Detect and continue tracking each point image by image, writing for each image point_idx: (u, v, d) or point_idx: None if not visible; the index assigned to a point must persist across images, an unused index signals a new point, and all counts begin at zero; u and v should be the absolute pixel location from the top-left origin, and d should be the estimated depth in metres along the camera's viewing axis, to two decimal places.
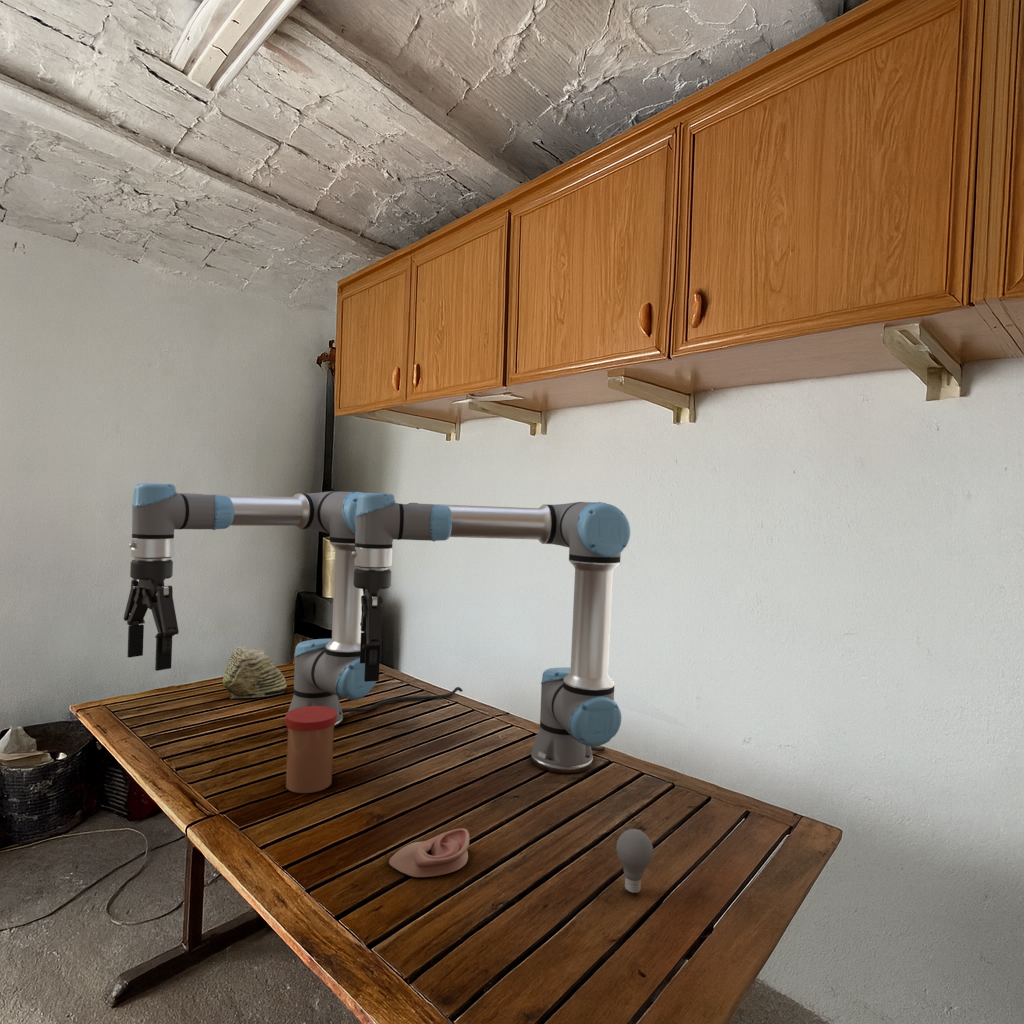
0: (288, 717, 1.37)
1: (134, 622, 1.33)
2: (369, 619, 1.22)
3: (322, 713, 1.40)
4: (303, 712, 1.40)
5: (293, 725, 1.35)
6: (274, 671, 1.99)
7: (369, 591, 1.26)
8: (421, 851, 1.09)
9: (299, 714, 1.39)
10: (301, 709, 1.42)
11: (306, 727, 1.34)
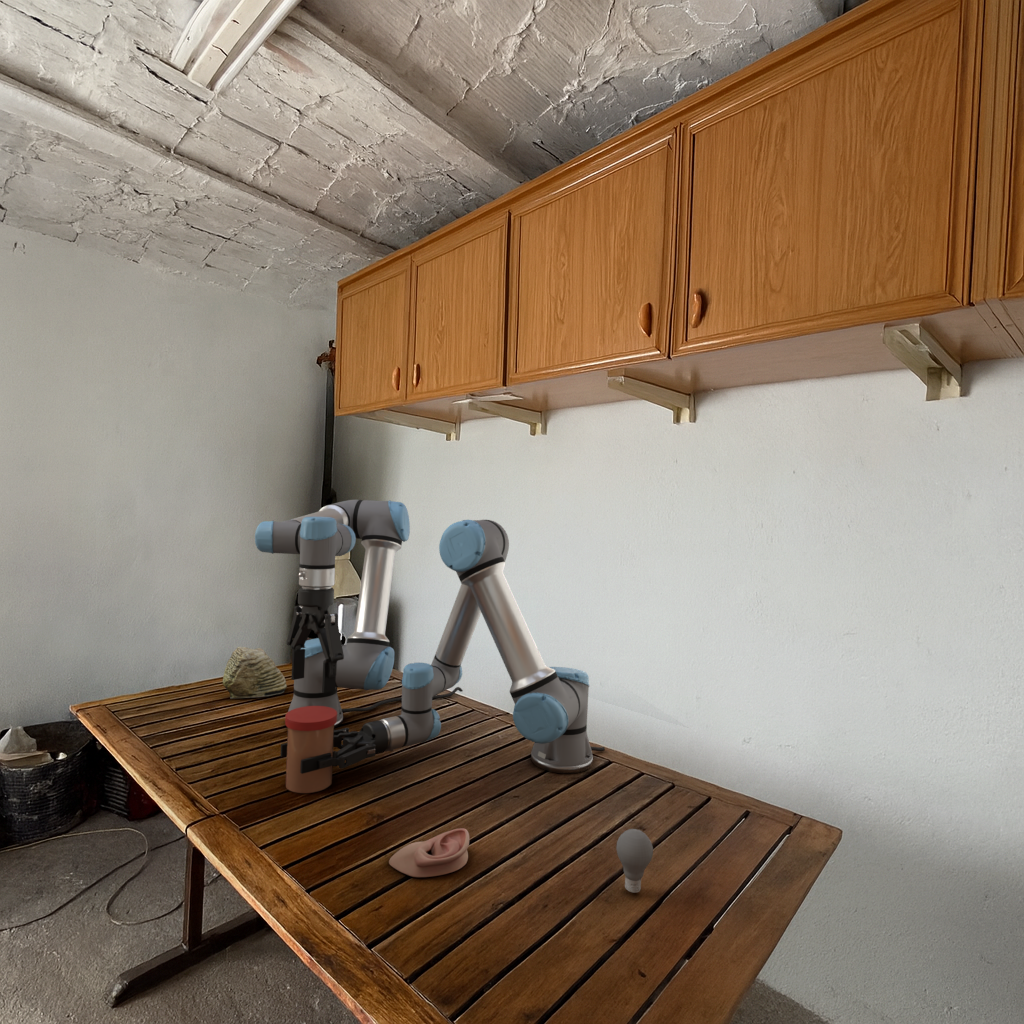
0: (288, 717, 1.37)
1: (297, 646, 1.44)
2: None
3: (322, 713, 1.40)
4: (303, 712, 1.40)
5: (293, 725, 1.35)
6: (274, 671, 1.99)
7: None
8: (421, 851, 1.09)
9: (299, 714, 1.39)
10: (301, 709, 1.42)
11: (306, 727, 1.34)
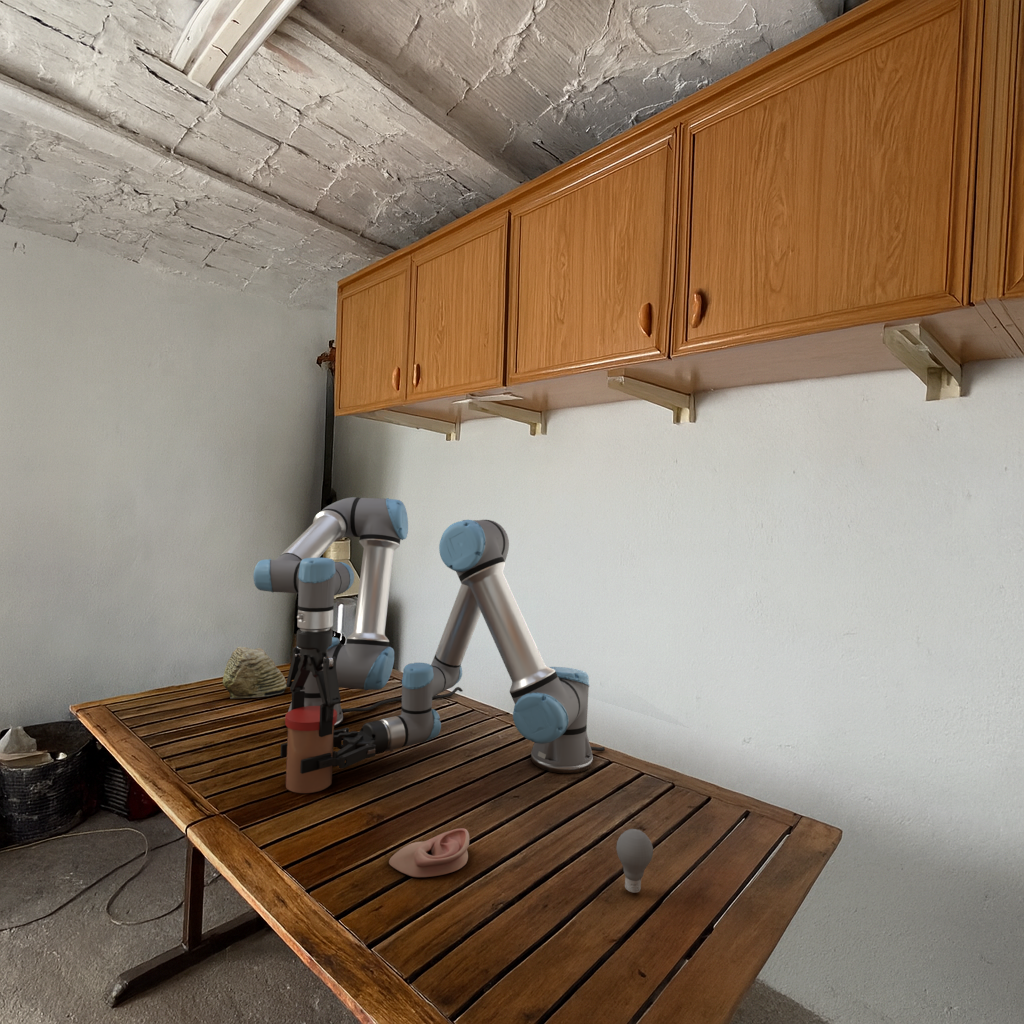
0: (288, 717, 1.37)
1: (296, 689, 1.43)
2: None
3: None
4: (303, 712, 1.40)
5: (293, 725, 1.35)
6: (274, 671, 1.99)
7: None
8: (421, 851, 1.09)
9: (299, 714, 1.39)
10: (301, 709, 1.42)
11: (306, 727, 1.34)
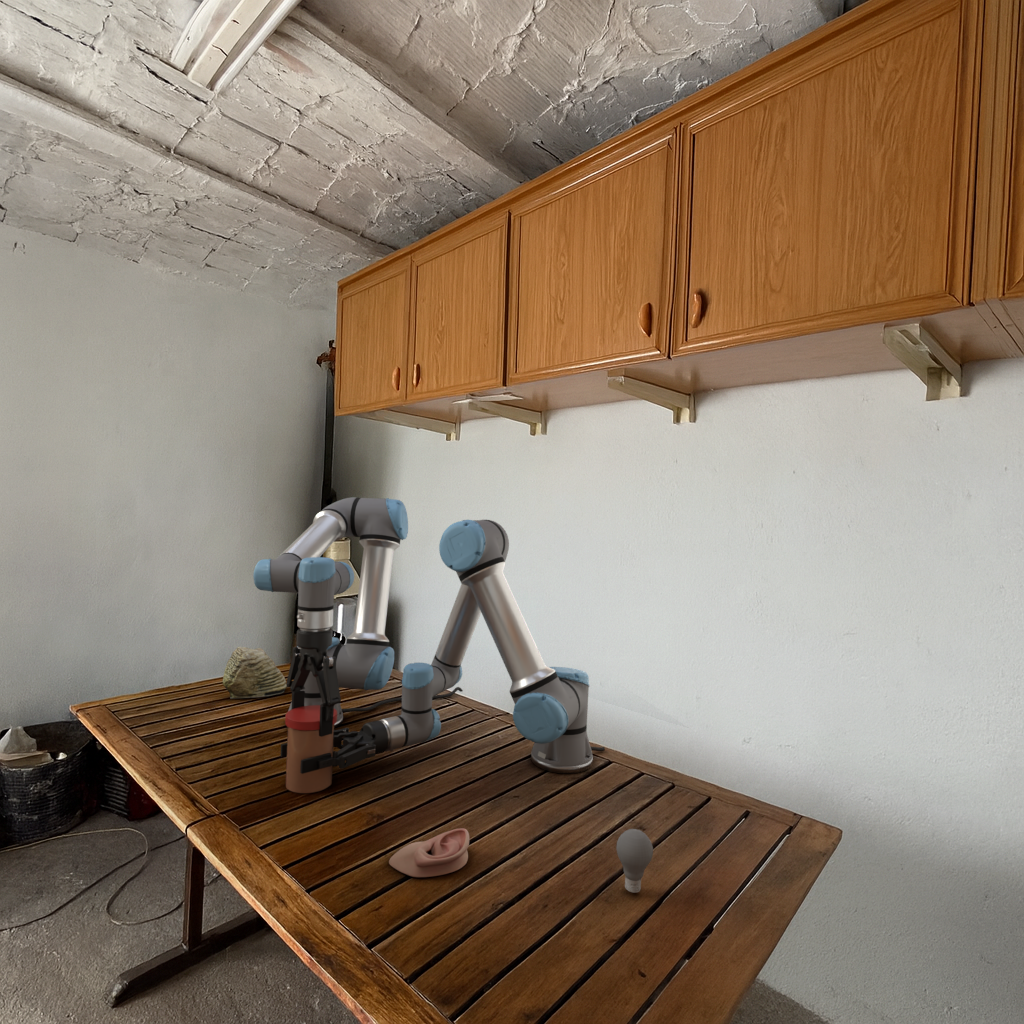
0: (314, 720, 1.35)
1: (296, 688, 1.43)
2: None
3: (314, 709, 1.42)
4: (304, 715, 1.38)
5: None
6: (274, 671, 1.99)
7: None
8: (421, 851, 1.09)
9: (309, 717, 1.37)
10: (292, 716, 1.37)
11: (335, 719, 1.39)
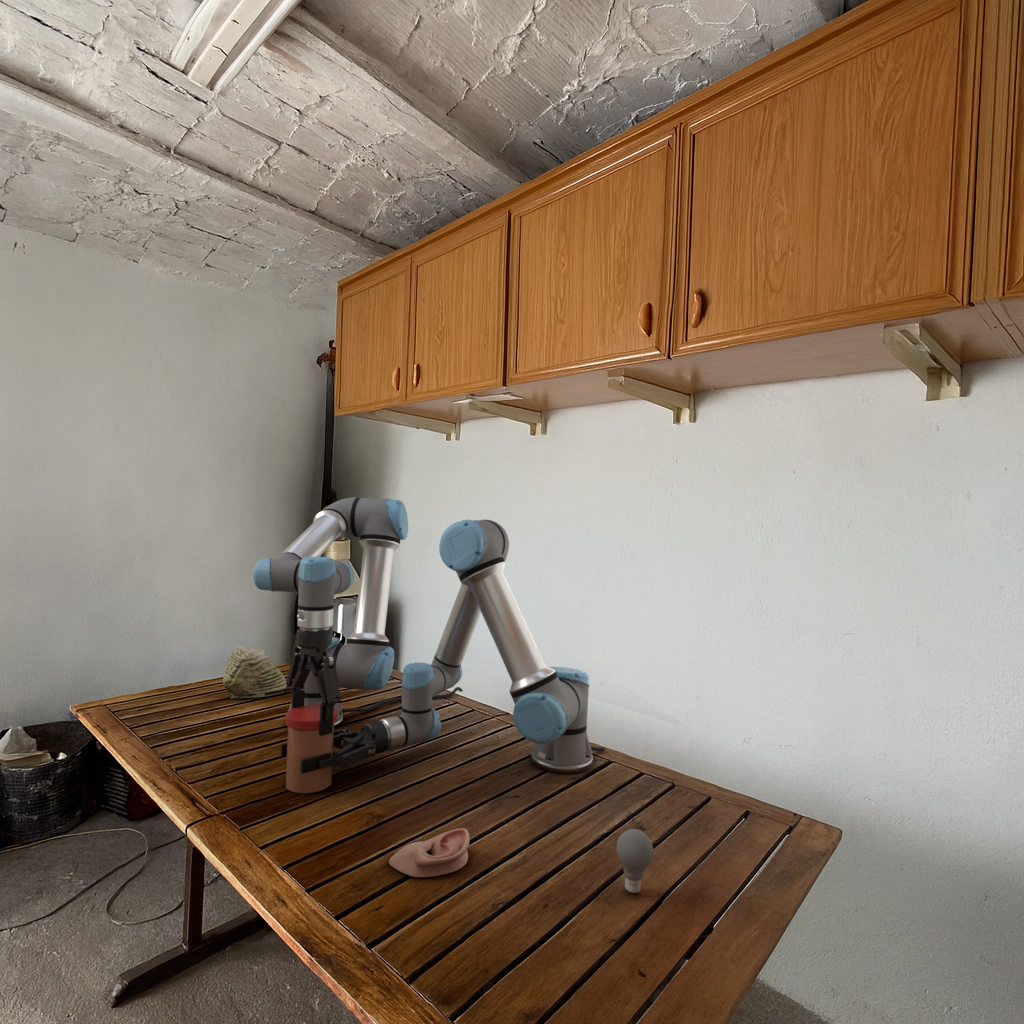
0: (335, 711, 1.41)
1: (296, 688, 1.43)
2: None
3: (301, 711, 1.40)
4: (316, 715, 1.38)
5: None
6: (274, 671, 1.99)
7: None
8: (421, 851, 1.09)
9: None
10: (314, 719, 1.36)
11: None
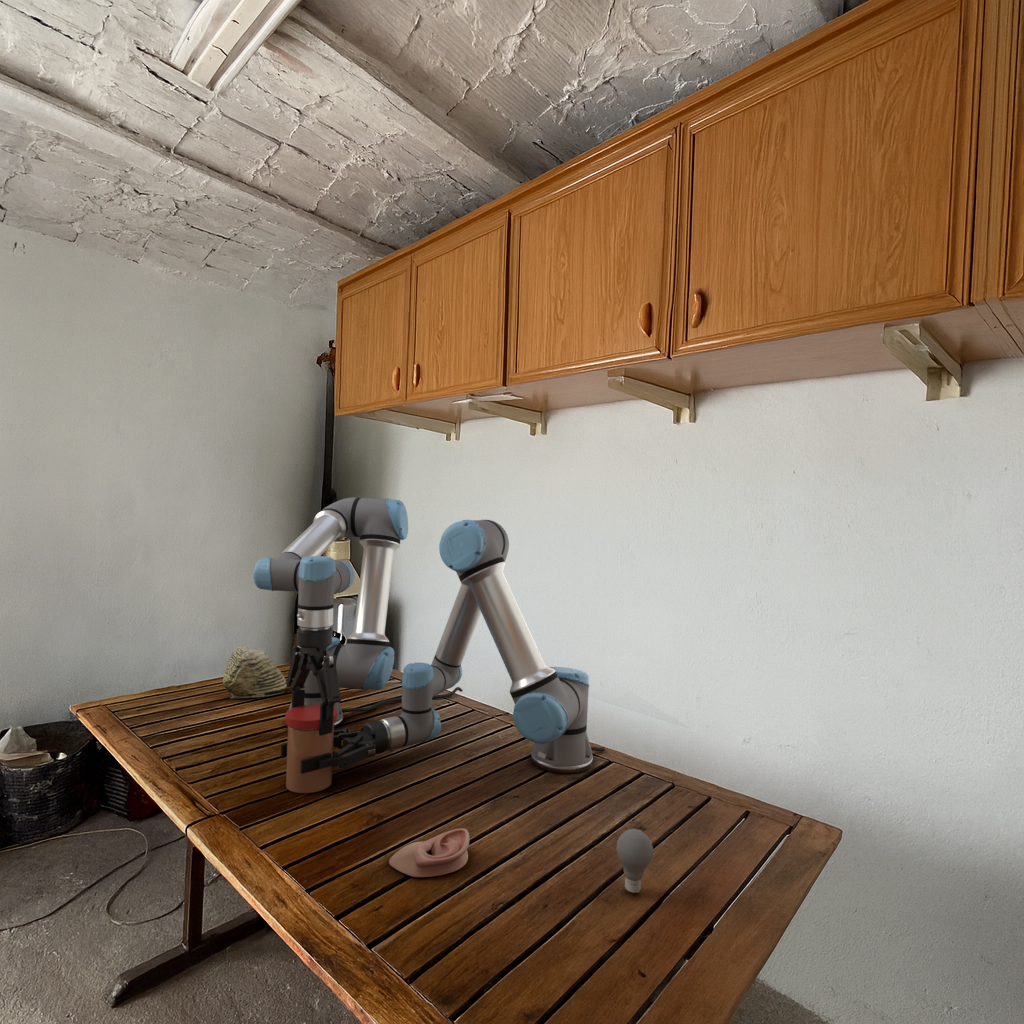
0: (317, 704, 1.45)
1: (296, 687, 1.43)
2: None
3: (305, 715, 1.37)
4: None
5: None
6: (274, 671, 1.99)
7: None
8: (421, 851, 1.09)
9: (318, 708, 1.42)
10: None
11: None
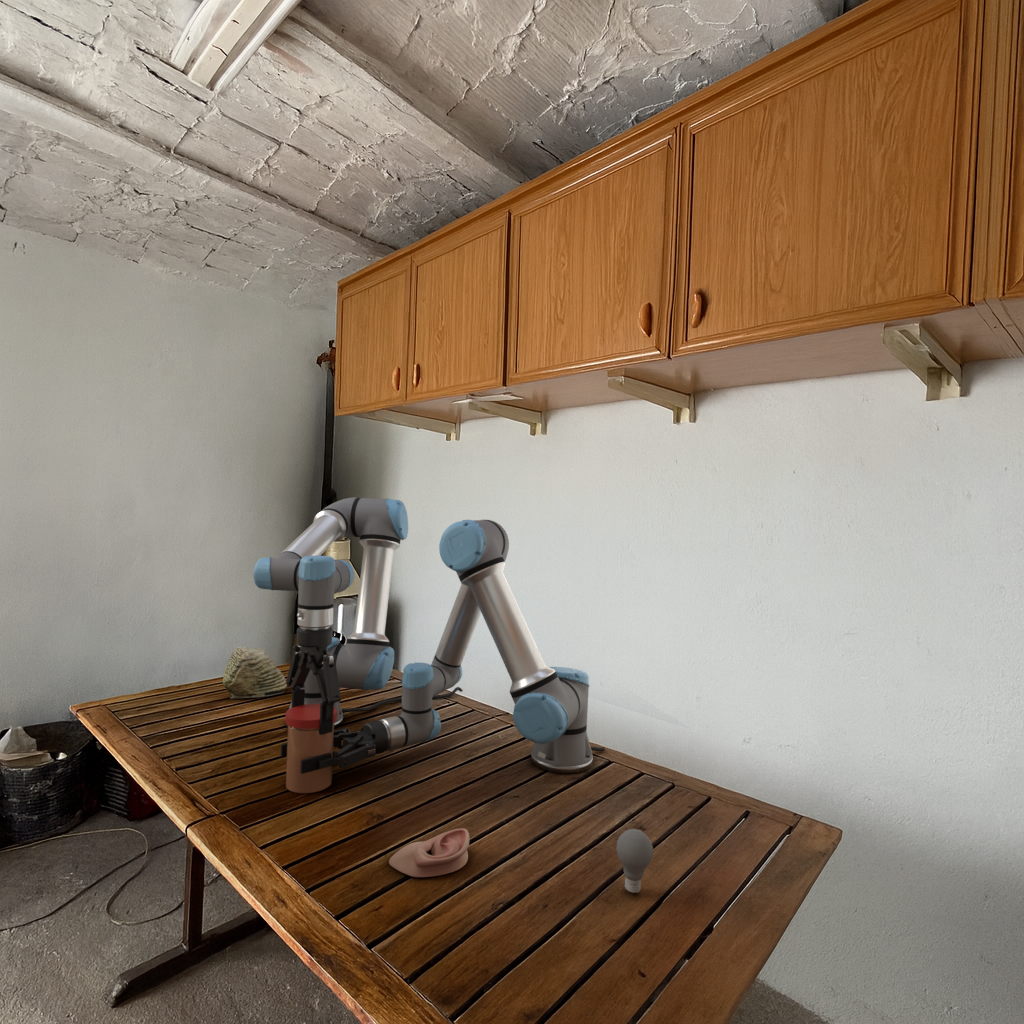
0: (290, 709, 1.40)
1: (296, 687, 1.43)
2: None
3: (319, 713, 1.38)
4: (310, 708, 1.41)
5: None
6: (274, 671, 1.99)
7: None
8: (421, 851, 1.09)
9: (302, 709, 1.41)
10: (315, 705, 1.44)
11: (290, 722, 1.35)
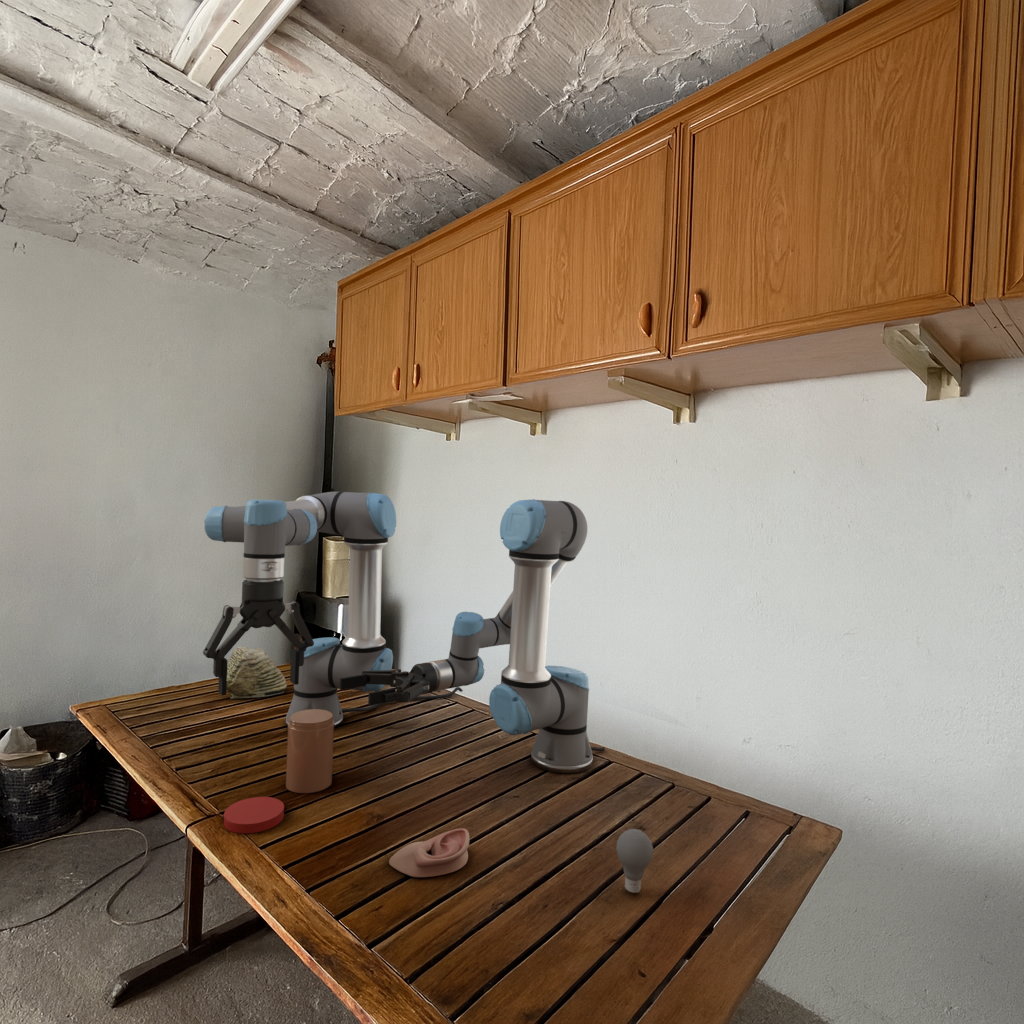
0: (236, 821, 1.19)
1: None
2: None
3: (265, 805, 1.25)
4: (242, 810, 1.23)
5: (248, 828, 1.18)
6: (274, 671, 1.99)
7: None
8: (421, 851, 1.09)
9: (242, 814, 1.22)
10: (233, 808, 1.24)
11: (266, 826, 1.20)
